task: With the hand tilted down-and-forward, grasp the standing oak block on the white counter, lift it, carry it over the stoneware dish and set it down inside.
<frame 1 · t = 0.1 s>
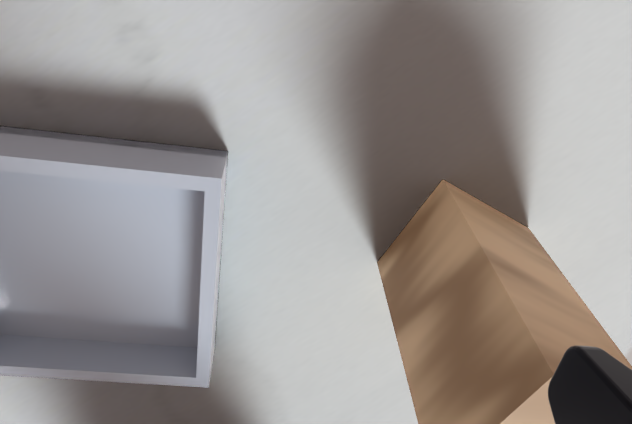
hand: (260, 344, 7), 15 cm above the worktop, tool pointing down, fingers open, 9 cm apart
oak block: (451, 245, 25), on the worktop
dish: (96, 250, 24), on the worktop
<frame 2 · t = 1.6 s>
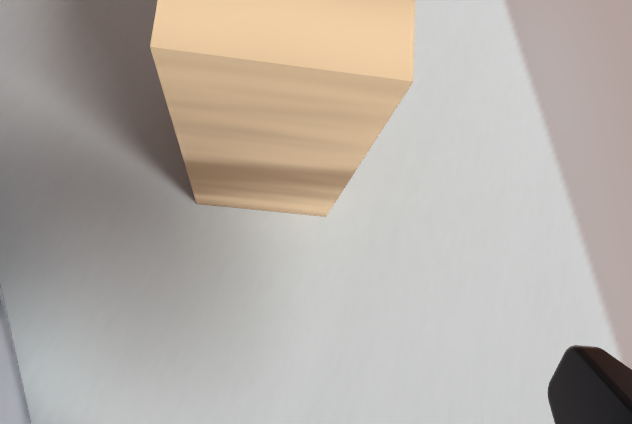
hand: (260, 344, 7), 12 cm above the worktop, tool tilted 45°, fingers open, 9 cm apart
oak block: (267, 149, 21), on the worktop
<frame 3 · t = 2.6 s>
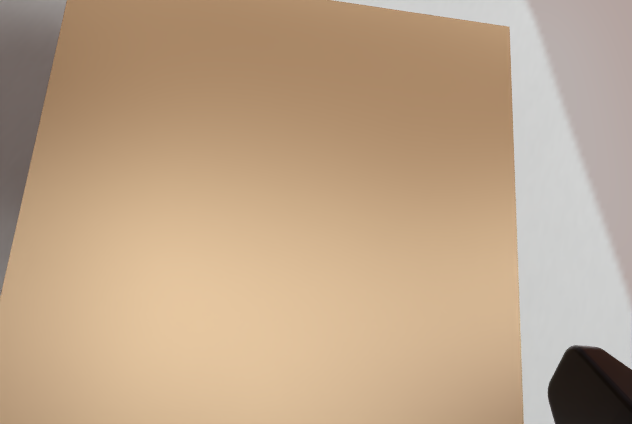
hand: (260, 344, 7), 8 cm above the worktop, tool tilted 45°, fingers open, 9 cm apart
oak block: (254, 304, 16), on the worktop
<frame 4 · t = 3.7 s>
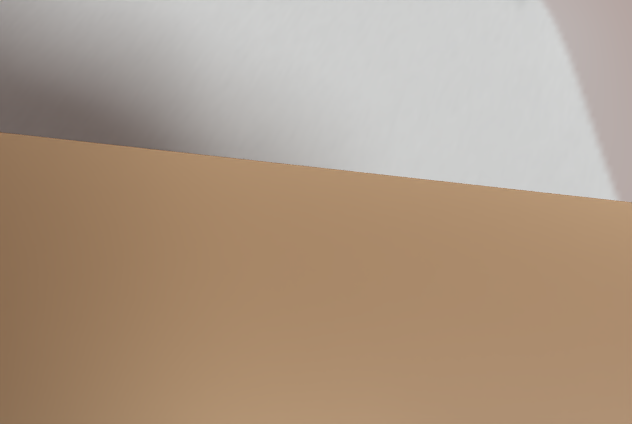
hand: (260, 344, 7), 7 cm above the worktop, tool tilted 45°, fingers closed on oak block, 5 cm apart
oak block: (245, 404, 13), on the worktop, touching gripper
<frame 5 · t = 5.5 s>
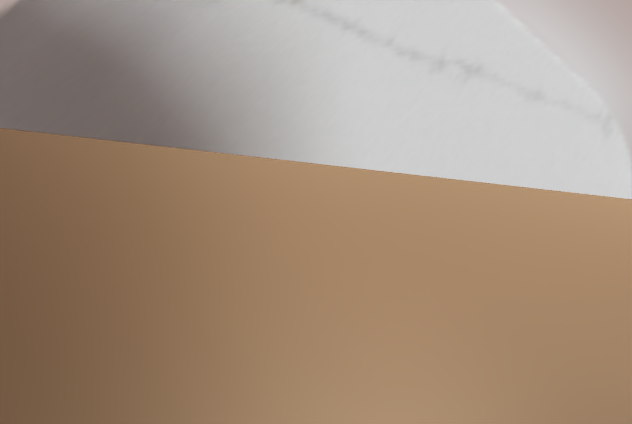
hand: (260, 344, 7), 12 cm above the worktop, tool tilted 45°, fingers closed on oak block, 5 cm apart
oak block: (246, 403, 13), point 6 cm above the worktop, touching gripper
when the fingers open (9 cm above the worktop, at t = 7.3 s): oak block drops 2 cm, resting on dish.
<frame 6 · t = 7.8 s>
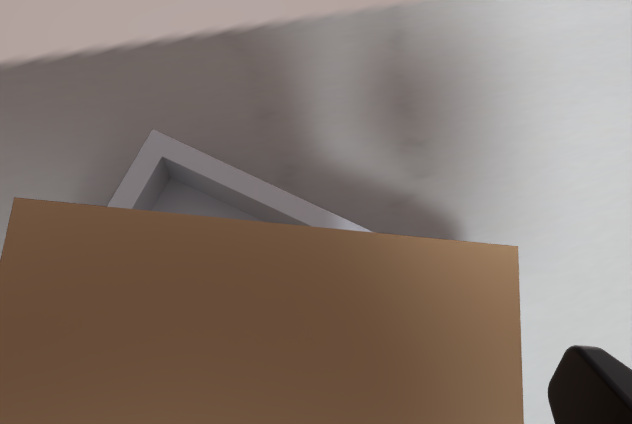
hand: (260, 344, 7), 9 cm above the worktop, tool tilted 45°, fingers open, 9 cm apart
oak block: (244, 396, 15), point 1 cm above the worktop, touching dish
dish: (244, 396, 16), on the worktop
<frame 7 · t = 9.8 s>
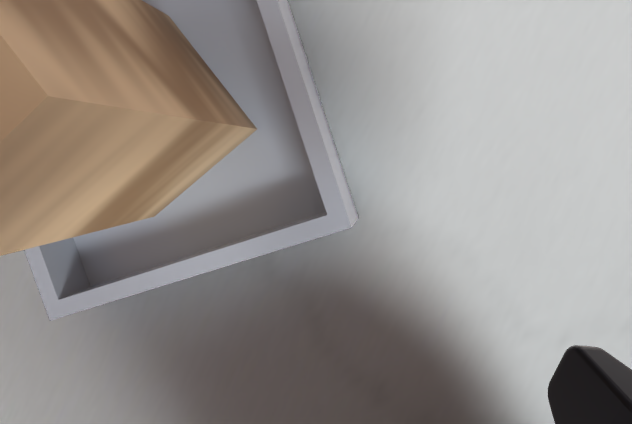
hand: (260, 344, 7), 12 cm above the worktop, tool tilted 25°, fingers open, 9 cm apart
oak block: (161, 118, 19), point 1 cm above the worktop, touching dish
dish: (169, 120, 20), on the worktop
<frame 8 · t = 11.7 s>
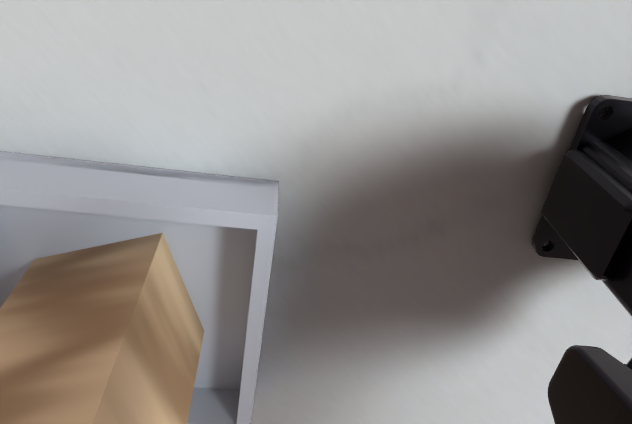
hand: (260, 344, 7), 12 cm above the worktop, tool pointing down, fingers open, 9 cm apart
oak block: (123, 296, 21), point 1 cm above the worktop, touching dish
dish: (128, 287, 22), on the worktop
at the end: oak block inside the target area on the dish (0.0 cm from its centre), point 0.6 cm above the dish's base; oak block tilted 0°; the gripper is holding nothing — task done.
